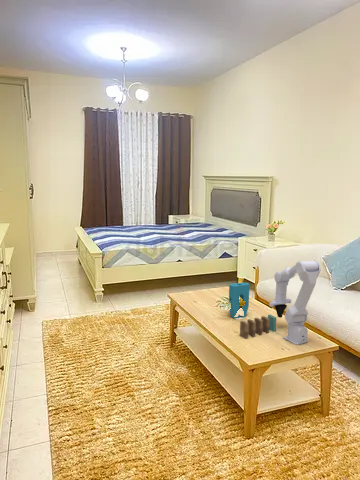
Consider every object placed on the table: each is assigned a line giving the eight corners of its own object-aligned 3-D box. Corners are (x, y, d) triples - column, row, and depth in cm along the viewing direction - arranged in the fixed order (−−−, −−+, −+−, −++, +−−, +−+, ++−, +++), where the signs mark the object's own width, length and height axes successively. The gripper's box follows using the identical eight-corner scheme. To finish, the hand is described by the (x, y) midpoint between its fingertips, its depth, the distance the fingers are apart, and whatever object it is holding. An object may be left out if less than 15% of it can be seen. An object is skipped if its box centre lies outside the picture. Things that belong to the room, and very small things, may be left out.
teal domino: (275, 331, 199) (276, 317, 198) (273, 332, 199) (274, 317, 197) (269, 328, 204) (269, 314, 202) (267, 328, 203) (267, 315, 202)
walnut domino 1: (248, 338, 190) (248, 323, 189) (245, 339, 189) (246, 324, 188) (242, 334, 194) (242, 320, 193) (239, 335, 194) (240, 321, 192)
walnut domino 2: (255, 336, 192) (256, 322, 191) (253, 337, 192) (253, 322, 190) (249, 333, 197) (249, 319, 195) (246, 333, 196) (247, 319, 195)
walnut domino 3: (262, 334, 195) (263, 320, 194) (260, 335, 194) (260, 321, 193) (256, 331, 199) (256, 317, 198) (253, 332, 198) (254, 317, 197)
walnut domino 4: (269, 333, 197) (269, 319, 196) (266, 333, 196) (267, 319, 195) (262, 329, 201) (263, 315, 200) (260, 330, 201) (261, 316, 199)
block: (244, 313, 226) (245, 282, 223) (248, 316, 221) (250, 284, 218) (227, 316, 221) (228, 284, 218) (232, 319, 216) (233, 286, 213)
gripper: (285, 289, 208) (283, 312, 210) (265, 293, 201) (264, 316, 203) (294, 293, 202) (293, 316, 204) (275, 296, 195) (273, 321, 197)
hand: (279, 316), depth 203 cm, fingers closed
